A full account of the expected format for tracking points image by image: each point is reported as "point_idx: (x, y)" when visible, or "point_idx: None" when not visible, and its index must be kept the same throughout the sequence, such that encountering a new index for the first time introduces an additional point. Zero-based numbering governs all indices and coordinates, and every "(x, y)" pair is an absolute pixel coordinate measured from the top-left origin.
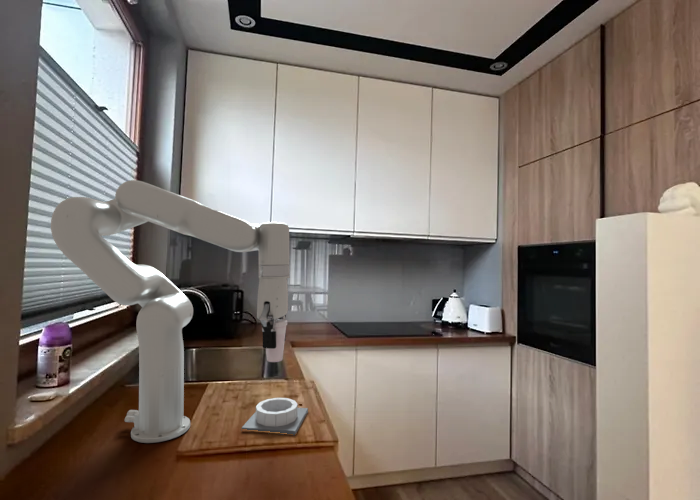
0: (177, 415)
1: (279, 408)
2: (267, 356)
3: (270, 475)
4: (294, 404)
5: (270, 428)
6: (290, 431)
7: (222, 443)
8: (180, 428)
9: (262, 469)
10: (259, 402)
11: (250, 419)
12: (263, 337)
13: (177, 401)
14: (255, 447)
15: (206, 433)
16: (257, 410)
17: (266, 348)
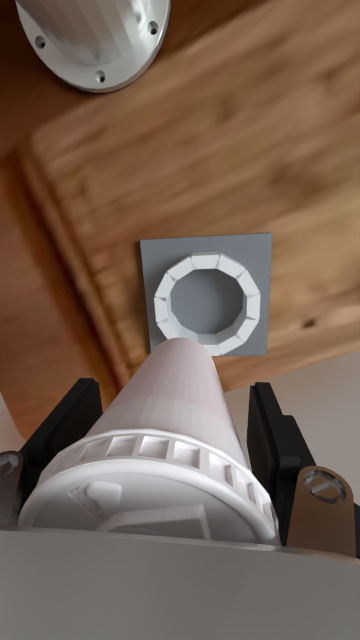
0: (69, 42)
1: (243, 296)
2: (150, 354)
3: (24, 350)
4: (218, 348)
5: (149, 305)
6: (150, 346)
7: (85, 222)
8: (91, 73)
9: (34, 333)
10: (218, 255)
11: (184, 242)
12: (51, 418)
13: (45, 9)
14: (91, 296)
15: (115, 155)
16: (168, 270)
17: (138, 370)
